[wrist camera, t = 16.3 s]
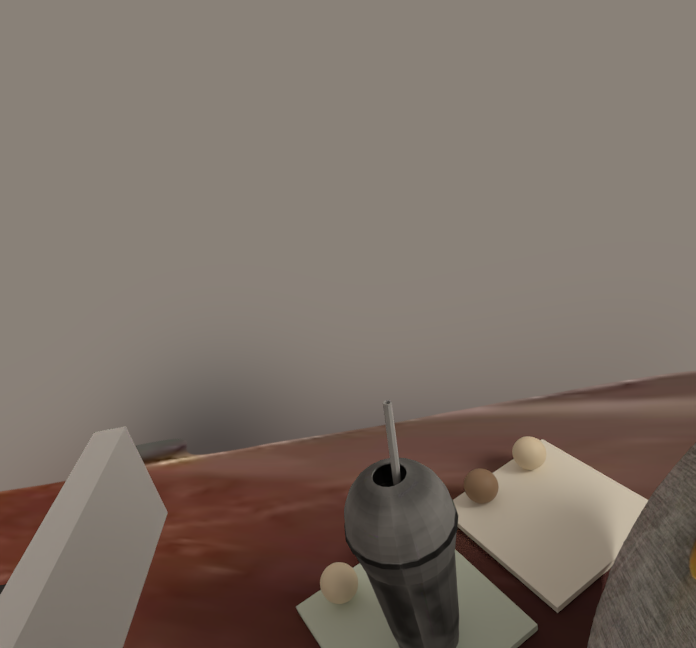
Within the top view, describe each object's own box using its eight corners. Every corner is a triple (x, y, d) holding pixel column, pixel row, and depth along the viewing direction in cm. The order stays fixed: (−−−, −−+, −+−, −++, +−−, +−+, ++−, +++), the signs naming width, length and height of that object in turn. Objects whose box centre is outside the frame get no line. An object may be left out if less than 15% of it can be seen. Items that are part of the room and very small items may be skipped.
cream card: (542, 443, 57) (540, 414, 56) (669, 517, 47) (670, 484, 45) (441, 513, 52) (435, 483, 51) (557, 613, 42) (555, 579, 40)
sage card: (424, 524, 52) (417, 495, 50) (538, 629, 41) (534, 596, 40) (297, 611, 47) (286, 581, 45) (390, 756, 36) (379, 723, 35)
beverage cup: (358, 649, 42) (286, 433, 33) (414, 575, 47) (364, 367, 38) (444, 708, 37) (387, 475, 28) (497, 619, 42) (463, 393, 33)
